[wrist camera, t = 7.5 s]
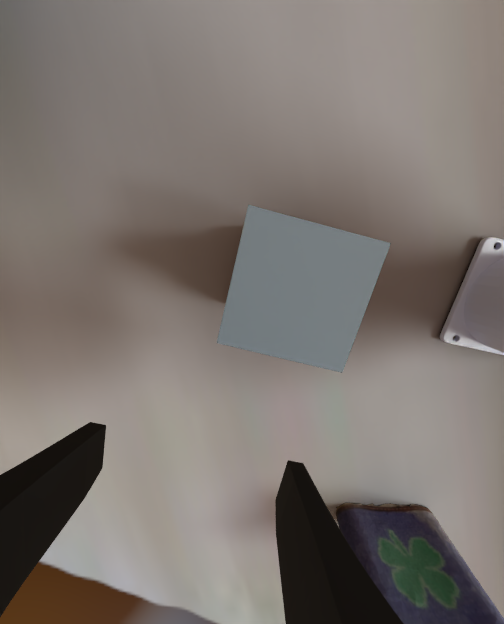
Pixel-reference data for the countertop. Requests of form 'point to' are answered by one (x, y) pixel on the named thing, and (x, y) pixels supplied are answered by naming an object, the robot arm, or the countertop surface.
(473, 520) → the countertop surface
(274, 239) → the slate block
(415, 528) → the flask
